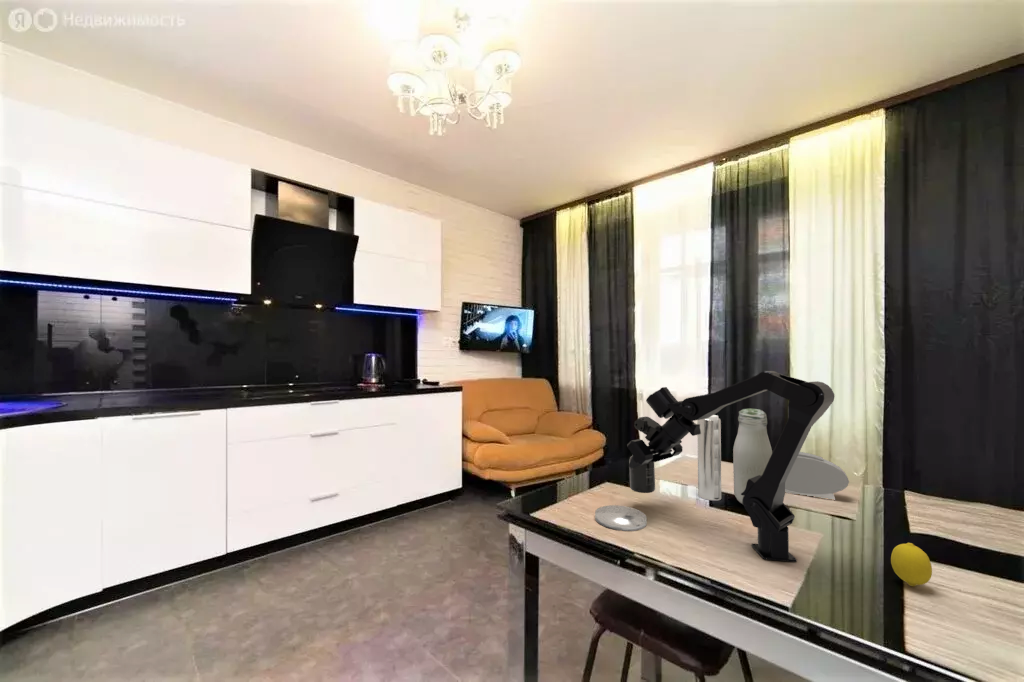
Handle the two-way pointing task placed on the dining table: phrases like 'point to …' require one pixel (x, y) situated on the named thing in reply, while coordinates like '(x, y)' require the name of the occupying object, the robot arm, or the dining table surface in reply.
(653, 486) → the supplement bottle
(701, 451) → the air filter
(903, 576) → the lemon
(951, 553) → the dining table surface
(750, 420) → the glass bottle
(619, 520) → the metal plate
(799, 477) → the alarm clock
